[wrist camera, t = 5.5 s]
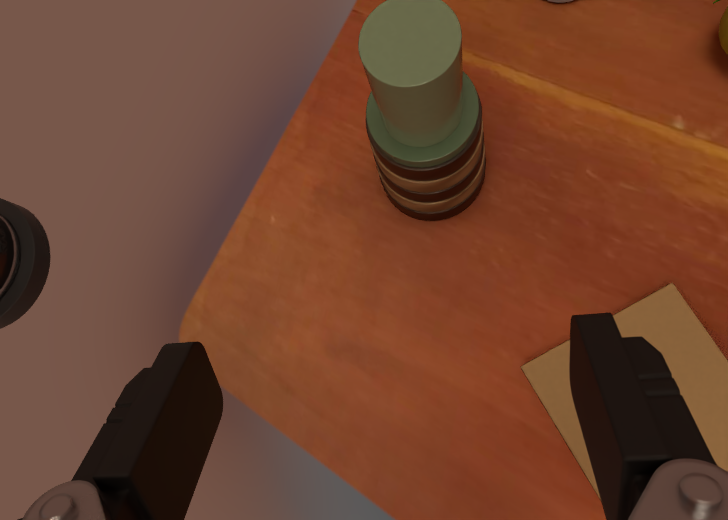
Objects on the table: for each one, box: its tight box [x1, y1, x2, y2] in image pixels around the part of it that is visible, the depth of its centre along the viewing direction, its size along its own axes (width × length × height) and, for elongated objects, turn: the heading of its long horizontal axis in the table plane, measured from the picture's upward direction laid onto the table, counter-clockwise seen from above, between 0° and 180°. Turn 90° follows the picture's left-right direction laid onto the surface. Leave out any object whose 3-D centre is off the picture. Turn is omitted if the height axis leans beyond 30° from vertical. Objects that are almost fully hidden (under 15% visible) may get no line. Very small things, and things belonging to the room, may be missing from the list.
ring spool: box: [358, 0, 479, 167], centre depth 33 cm, size 7×7×8 cm
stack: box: [366, 91, 486, 221], centre depth 42 cm, size 8×8×10 cm
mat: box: [521, 283, 728, 500], centre depth 41 cm, size 12×12×1 cm
